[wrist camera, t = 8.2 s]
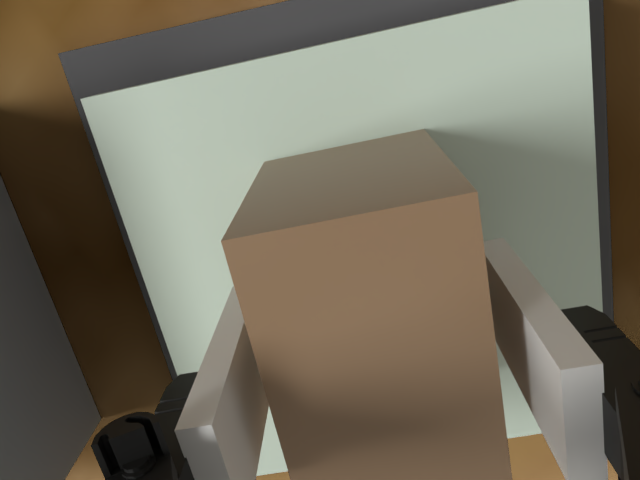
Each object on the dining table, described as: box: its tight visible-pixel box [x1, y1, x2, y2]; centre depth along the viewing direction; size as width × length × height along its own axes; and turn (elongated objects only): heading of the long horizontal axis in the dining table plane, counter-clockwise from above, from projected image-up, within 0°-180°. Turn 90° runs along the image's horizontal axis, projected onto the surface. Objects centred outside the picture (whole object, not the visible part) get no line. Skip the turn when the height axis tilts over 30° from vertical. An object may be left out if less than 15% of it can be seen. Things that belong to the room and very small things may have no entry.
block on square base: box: [80, 0, 603, 480], centre depth 17 cm, size 15×15×10 cm
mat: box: [58, 0, 614, 380], centre depth 22 cm, size 18×18×1 cm
